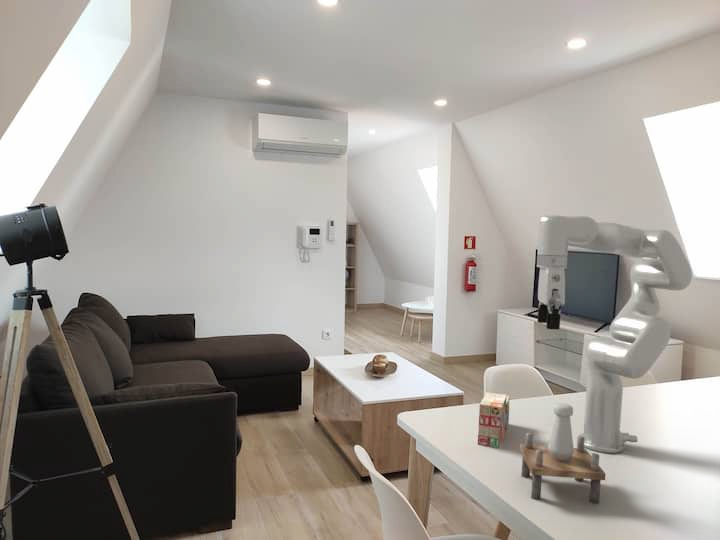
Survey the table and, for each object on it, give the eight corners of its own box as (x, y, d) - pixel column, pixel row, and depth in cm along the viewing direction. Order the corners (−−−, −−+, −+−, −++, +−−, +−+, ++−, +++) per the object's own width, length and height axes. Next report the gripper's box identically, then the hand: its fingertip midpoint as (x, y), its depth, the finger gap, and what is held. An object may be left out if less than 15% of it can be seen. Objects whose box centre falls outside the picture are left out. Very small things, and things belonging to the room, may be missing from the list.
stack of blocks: (488, 421, 173) (490, 384, 172) (508, 424, 170) (510, 386, 169) (477, 445, 153) (479, 403, 152) (499, 449, 150) (502, 406, 150)
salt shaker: (543, 452, 130) (546, 400, 129) (566, 452, 131) (569, 400, 130) (554, 463, 124) (557, 408, 123) (577, 463, 125) (581, 408, 124)
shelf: (583, 477, 134) (586, 435, 133) (603, 506, 120) (606, 458, 119) (518, 472, 135) (520, 430, 135) (530, 500, 122) (533, 453, 121)
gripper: (576, 264, 133) (572, 332, 134) (557, 261, 150) (553, 321, 151) (545, 263, 134) (541, 331, 135) (530, 260, 151) (526, 319, 152)
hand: (548, 325), depth 143 cm, fingers open, 9 cm apart
